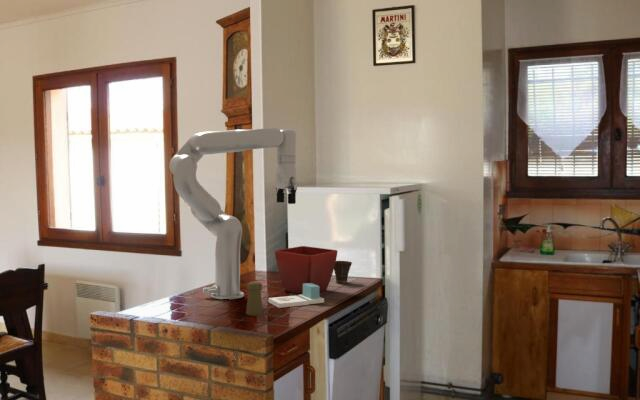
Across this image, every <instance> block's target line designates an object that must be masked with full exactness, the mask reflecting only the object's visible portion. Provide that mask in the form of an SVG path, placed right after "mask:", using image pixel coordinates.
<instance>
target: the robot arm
mask: <svg viewBox="0 0 640 400" xmlns="http://www.w3.org/2000/svg"><path fill="white" fill-rule="evenodd" d="M296 135H297V134H296V131H295V130H293V129H279V128H277V127H267V128H257V129H231V130H230V129H228V130H216V131H215V130H214V131H213V130H212V131H202V132H201V131H200V132H198V133H194V134H193V135H191V136H190V138H188V140H187V141H186V142H185V143H184V144H183V145H182V146H181V147H180V148H179V150H178V151H177V152H176V153H175V154H174V155H173V156H172V157H171V159H170V161H169V164H168V165H169V170H170V172H171V173H172V175H173V179H172V180H173V186H174V188H175V190H176V193H177V195H178V196H179V197H180V198H181V199H182V200H183V201H184V202H185V203H186V204H187V206H189V207H190V211H191V214H192V216H193V217H194V218H195V219H196V220H197V221H198V222H199V223H200V224H202V225H203V227H205V229H207V230H208V232H209V233H211V234H212V235H214V236H215V237H216V242H215V253H214V255H215V258H214V260H215V265H214V267H215V268H214V270H215V271H214V274H215V276H214V277H215V279H214V280H215V281H214V282H215V283H214V284H212V286H210V287H203V288H202V293H203V294H210V297H211V298H213V299H216V300H223V299H229V300H237V299H242V298H243V297H244V296H245V293H244V292H243V291H241V290H240V289H241V243H242V235H243V226H242V223H241V221H240V220H239V219H238V218H237V217H235V216H233V215H229V214H226V213H225V212H224V210H223V209H222V208H221V205H220V204H221V203H220V202H219V201H218V200H217V199H216V198H215V197H213V196H212V194H211V193H209V192H208V191H207V190H206V189H205V188H204V187H203V186H202V185H201V183H200V182H199V181H198V179H197V170H198V163H199V161H200V160H201V158H203V157H204V155H215V154H226V153H237V152H239V153H240V152H244V151H250V150H257V149H258V150H259V149H268V148H271V149H272V148H276V167H275V179H274V183H275V184H274V187H275V190H276V191H275V193H276V203H284V202H285V190H287V192H288V193H287V204H288V205H296V197H297V195H296V194H297V190H298V181H297V174H296V173H297V172H296V171H297V170H296V161H297V160H296V159H297V158H296V155H297V151H296V150H297V147H296V145H297V143H296V142H297V141H296V140H297V138H296Z"/></svg>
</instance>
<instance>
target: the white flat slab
mask: <svg viewBox="0 0 640 400" xmlns="http://www.w3.org/2000/svg"><path fill="white" fill-rule="evenodd" d="M298 295H299V294H296V295H287V296H277V297H268V303H269V304H271V305H274V306H276V307H277V308H279V309H280V308H289V307H291V308H292V307H298V306H299V307H300V306H301V307H302V306H309V305H310V304H309V300H306V299H304V298H302V297H300V296H298Z"/></svg>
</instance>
